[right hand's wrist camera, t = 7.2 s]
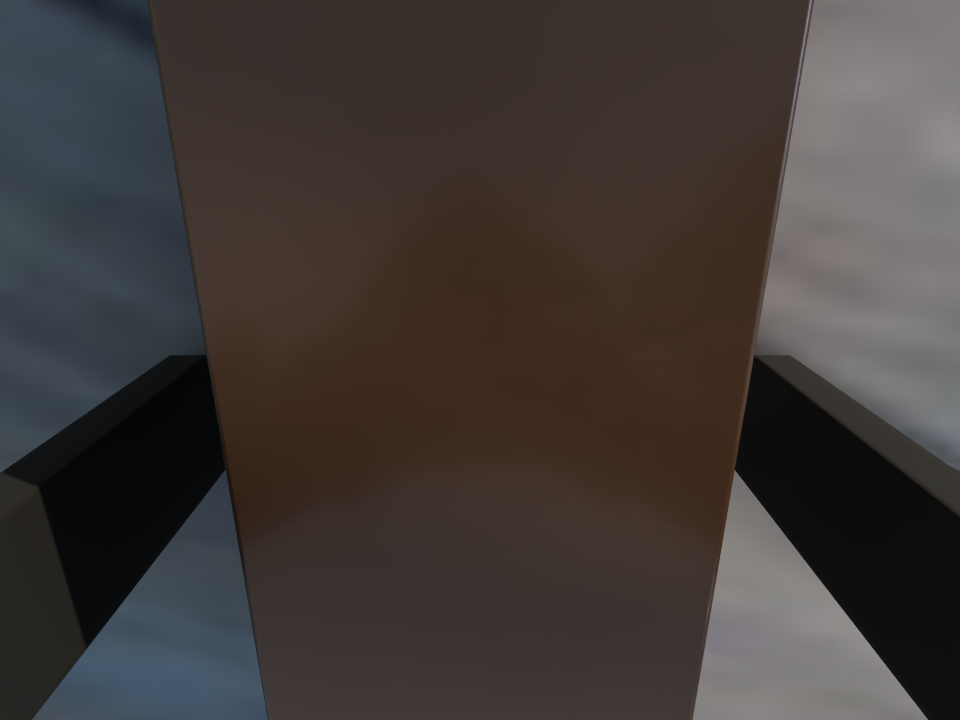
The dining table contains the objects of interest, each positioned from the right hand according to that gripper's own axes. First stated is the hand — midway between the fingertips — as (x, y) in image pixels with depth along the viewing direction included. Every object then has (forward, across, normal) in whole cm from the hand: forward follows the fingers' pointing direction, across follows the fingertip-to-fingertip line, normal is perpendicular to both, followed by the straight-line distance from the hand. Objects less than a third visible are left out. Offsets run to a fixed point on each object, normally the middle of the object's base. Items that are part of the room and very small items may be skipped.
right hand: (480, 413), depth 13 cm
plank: (0, 0, -11) cm, 11 cm away
